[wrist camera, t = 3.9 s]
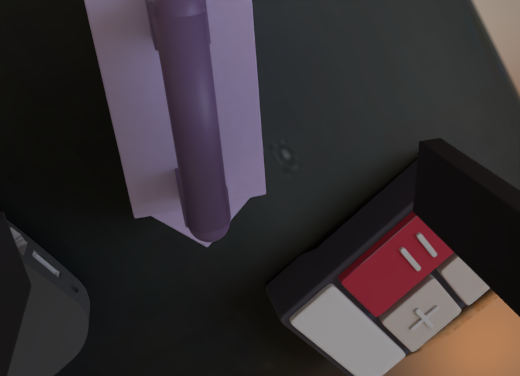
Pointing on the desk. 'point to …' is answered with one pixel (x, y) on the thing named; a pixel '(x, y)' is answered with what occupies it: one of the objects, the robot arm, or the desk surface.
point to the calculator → (375, 285)
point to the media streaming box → (48, 313)
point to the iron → (183, 107)
